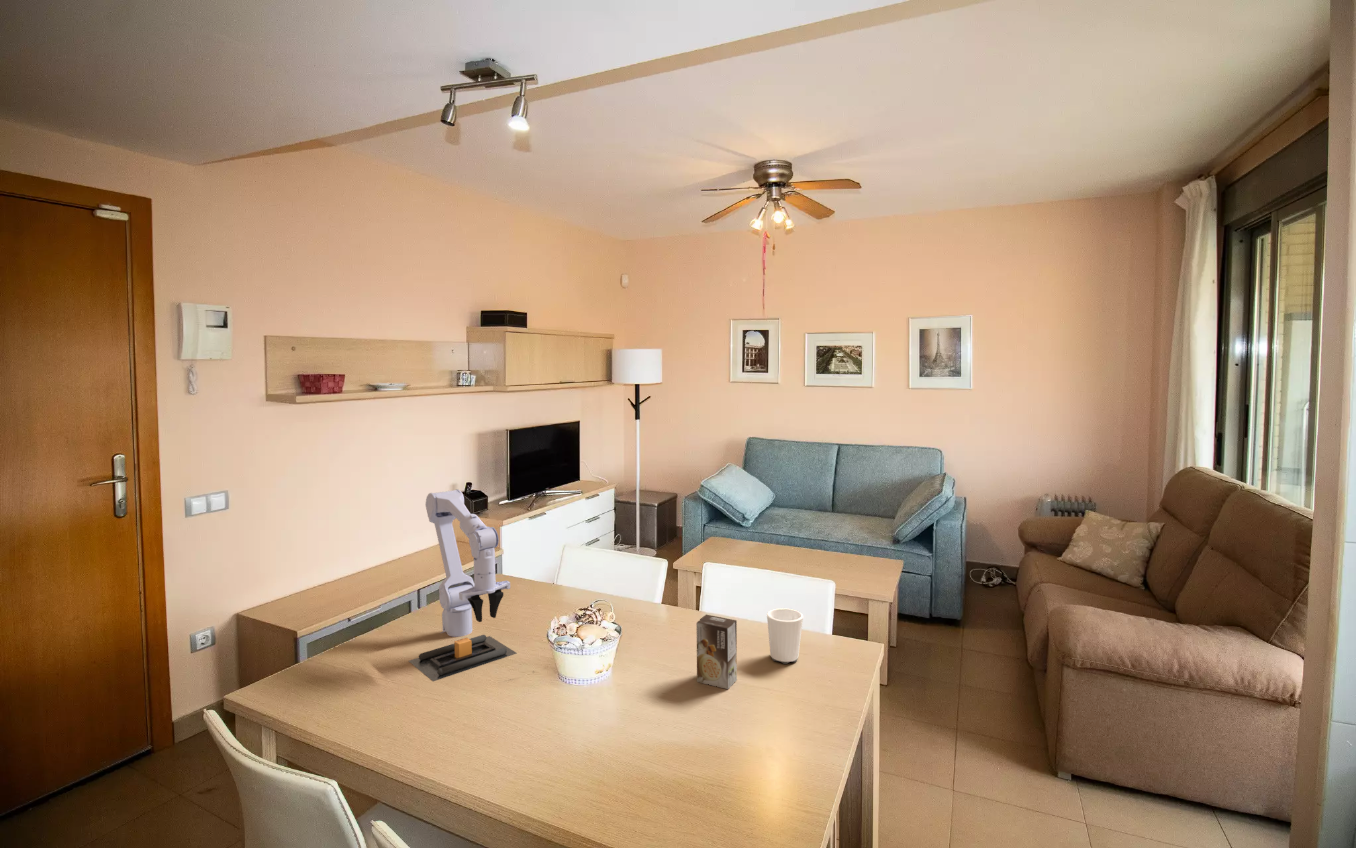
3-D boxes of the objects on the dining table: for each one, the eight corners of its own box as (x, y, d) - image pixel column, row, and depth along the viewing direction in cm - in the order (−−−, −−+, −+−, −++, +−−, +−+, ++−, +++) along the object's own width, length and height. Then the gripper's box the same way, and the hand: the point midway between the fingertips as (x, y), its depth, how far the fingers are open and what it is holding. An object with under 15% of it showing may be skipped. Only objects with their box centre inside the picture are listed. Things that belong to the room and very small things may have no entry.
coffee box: (737, 679, 176) (738, 619, 174) (728, 690, 170) (728, 628, 169) (706, 672, 180) (706, 613, 179) (695, 682, 174) (695, 622, 173)
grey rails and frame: (417, 659, 184) (417, 653, 184) (484, 639, 197) (484, 633, 197) (439, 677, 174) (438, 670, 174) (508, 654, 187) (508, 648, 187)
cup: (801, 652, 192) (801, 608, 191) (803, 667, 182) (804, 622, 181) (765, 650, 193) (766, 607, 192) (766, 666, 183) (767, 620, 182)
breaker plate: (408, 666, 183) (408, 657, 183) (489, 641, 200) (489, 632, 200) (433, 687, 172) (432, 677, 172) (517, 658, 188) (517, 649, 188)
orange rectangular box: (454, 657, 185) (454, 641, 185) (467, 653, 188) (466, 637, 187) (459, 660, 183) (458, 644, 183) (471, 656, 186) (471, 640, 185)
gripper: (466, 581, 180) (468, 630, 182) (515, 569, 190) (516, 616, 192) (455, 574, 186) (456, 622, 187) (502, 563, 195) (504, 609, 197)
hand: (486, 619), depth 190 cm, fingers open, 4 cm apart
